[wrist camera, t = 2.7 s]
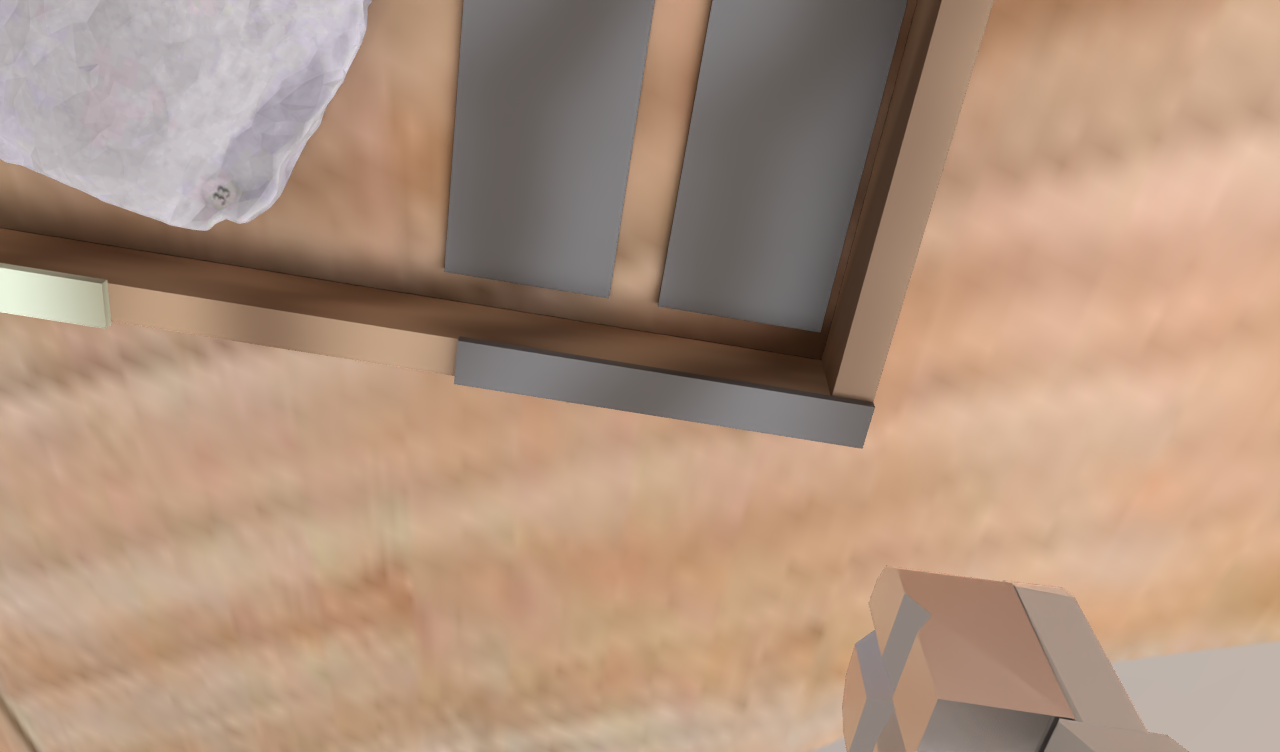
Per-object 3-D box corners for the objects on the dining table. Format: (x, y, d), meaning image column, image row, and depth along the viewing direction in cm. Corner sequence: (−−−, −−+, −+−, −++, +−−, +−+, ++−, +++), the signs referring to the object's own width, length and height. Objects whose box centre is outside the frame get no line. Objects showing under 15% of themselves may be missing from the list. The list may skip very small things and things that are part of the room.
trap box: (1033, -239, 24) (1092, -256, 20) (849, 402, 32) (868, 470, 29) (-430, -503, 23) (-634, -568, 19) (-241, 228, 31) (-361, 277, 28)
